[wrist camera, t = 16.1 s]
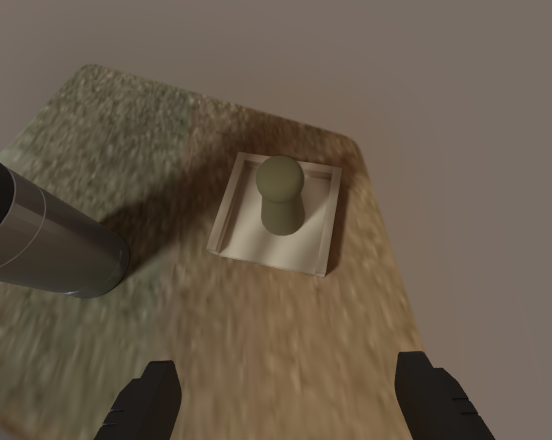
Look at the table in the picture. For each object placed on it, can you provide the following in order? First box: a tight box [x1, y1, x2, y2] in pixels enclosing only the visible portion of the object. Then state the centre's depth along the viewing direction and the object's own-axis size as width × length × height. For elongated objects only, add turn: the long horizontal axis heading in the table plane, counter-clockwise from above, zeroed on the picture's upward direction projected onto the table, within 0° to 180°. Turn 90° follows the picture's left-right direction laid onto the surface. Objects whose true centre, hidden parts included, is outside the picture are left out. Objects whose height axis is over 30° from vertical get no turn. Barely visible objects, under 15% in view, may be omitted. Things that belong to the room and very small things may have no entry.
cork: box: [256, 155, 305, 236], centre depth 33 cm, size 6×6×11 cm
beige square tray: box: [206, 152, 342, 278], centre depth 38 cm, size 15×15×2 cm
